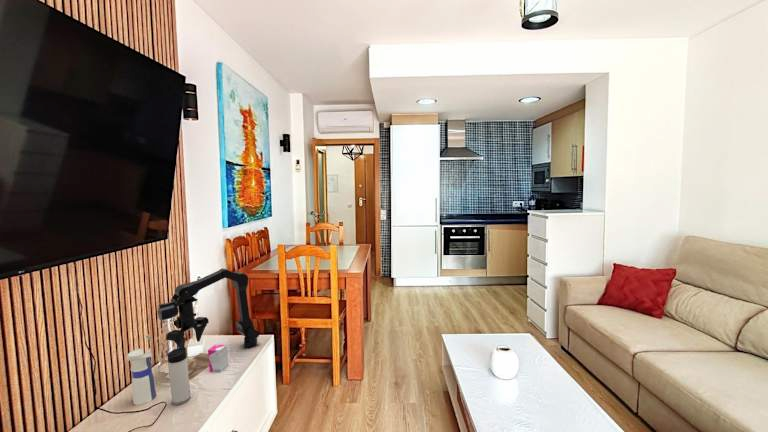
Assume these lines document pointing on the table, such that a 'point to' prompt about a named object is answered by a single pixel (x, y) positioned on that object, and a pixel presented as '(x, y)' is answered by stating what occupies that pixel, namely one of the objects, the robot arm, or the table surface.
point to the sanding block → (191, 366)
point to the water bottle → (142, 376)
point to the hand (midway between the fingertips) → (190, 346)
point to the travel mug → (179, 376)
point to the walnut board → (200, 364)
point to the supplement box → (218, 358)
